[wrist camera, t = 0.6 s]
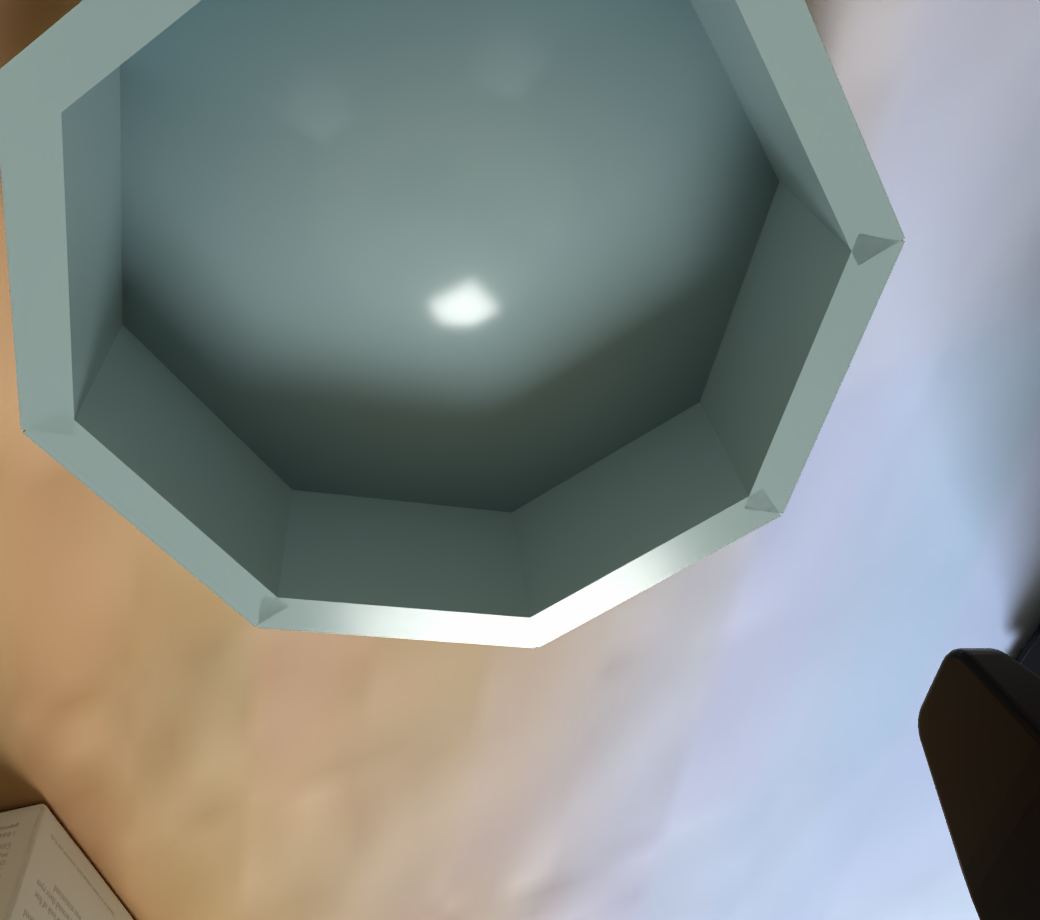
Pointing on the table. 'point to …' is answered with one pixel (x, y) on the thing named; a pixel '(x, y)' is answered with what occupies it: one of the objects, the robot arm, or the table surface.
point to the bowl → (436, 291)
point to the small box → (49, 872)
